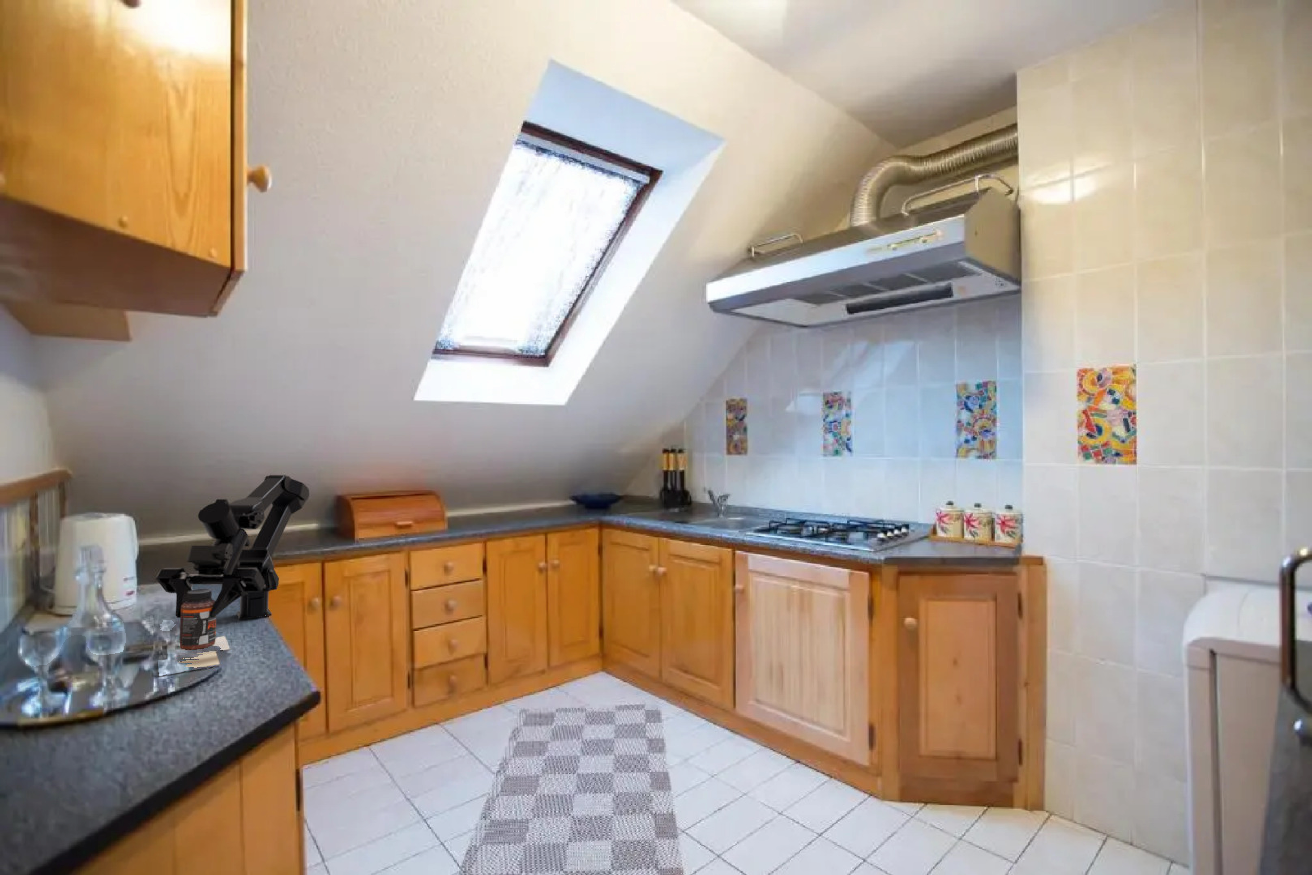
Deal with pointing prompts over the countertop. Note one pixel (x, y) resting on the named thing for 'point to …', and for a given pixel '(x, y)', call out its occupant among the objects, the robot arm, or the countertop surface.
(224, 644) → the cream flat square slab
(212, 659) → the beech pad
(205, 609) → the supplement bottle
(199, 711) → the countertop surface
